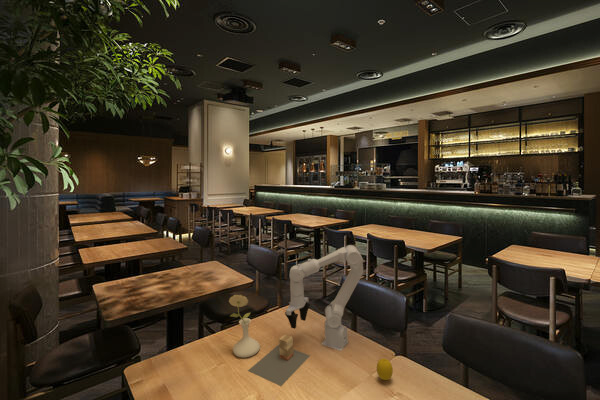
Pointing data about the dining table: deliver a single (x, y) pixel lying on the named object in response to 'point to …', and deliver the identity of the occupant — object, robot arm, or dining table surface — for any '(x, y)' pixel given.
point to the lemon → (384, 369)
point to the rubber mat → (278, 366)
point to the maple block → (286, 347)
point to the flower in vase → (246, 344)
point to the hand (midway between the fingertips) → (298, 323)
